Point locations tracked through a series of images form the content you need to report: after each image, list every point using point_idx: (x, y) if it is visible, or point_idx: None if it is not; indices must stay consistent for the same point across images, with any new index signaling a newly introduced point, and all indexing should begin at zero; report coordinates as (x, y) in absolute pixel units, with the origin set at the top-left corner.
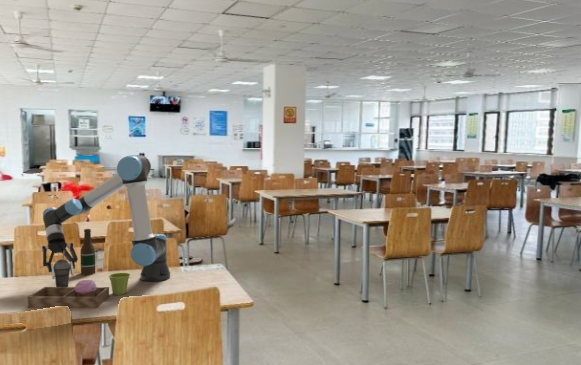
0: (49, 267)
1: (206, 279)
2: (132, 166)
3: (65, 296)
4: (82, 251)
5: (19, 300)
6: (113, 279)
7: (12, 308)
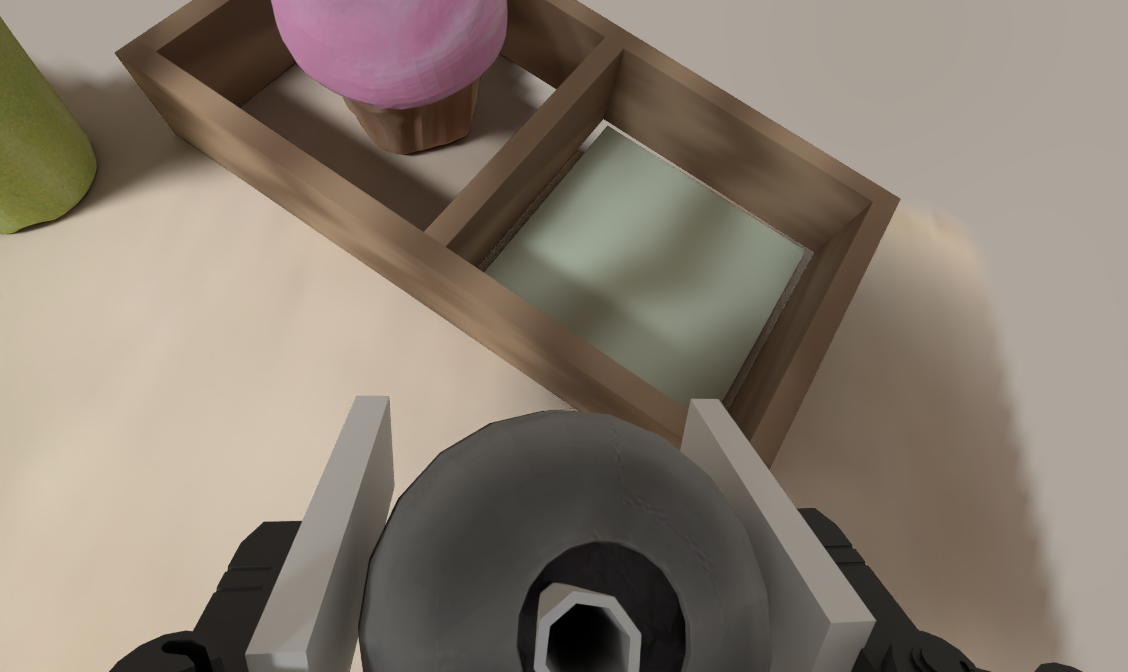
0: (856, 575)
1: None
2: None
3: (595, 51)
4: None
5: (929, 505)
6: None
7: (947, 298)
